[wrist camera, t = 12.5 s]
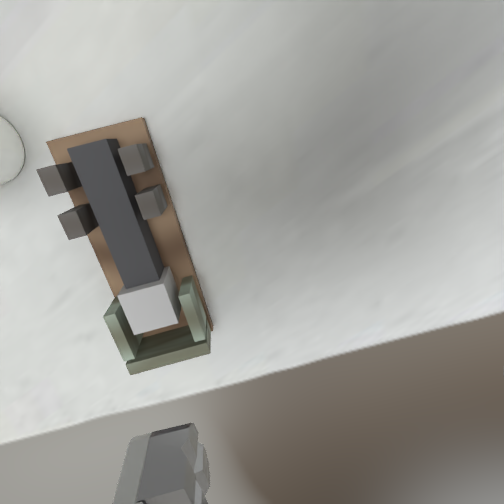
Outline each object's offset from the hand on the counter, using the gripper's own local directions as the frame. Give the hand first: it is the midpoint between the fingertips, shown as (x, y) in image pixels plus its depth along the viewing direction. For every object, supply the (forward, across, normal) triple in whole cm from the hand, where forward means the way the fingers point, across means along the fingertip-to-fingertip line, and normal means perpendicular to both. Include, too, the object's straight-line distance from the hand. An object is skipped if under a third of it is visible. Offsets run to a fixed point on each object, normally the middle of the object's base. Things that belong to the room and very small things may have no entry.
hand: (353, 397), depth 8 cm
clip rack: (+24, +11, +1) cm, 27 cm away
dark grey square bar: (+23, +11, -1) cm, 26 cm away
